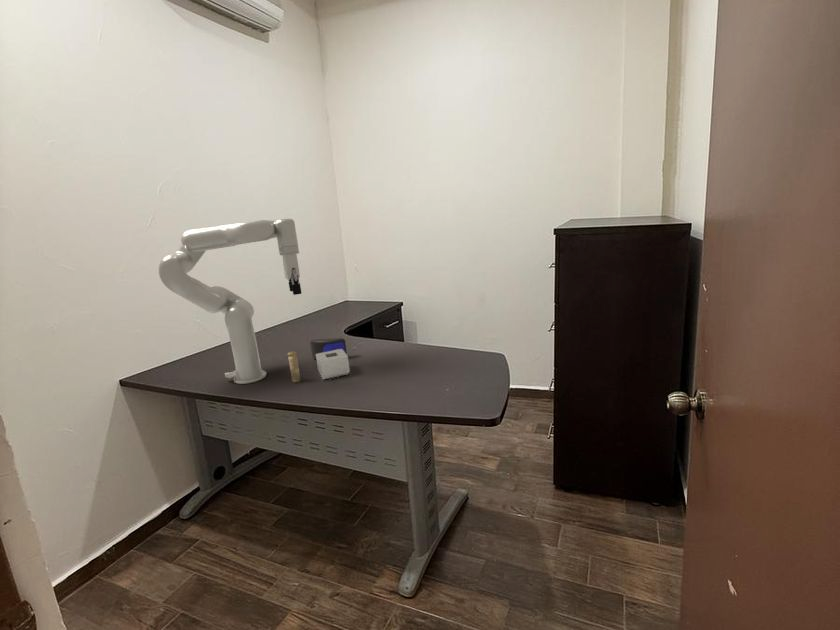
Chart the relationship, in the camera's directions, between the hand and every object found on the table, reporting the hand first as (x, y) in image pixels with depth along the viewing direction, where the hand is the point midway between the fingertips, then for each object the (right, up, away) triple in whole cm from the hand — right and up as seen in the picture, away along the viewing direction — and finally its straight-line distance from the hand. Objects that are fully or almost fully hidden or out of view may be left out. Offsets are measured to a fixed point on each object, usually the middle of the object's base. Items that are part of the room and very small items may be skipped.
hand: (295, 292), depth 170 cm
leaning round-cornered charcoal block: (+10, -29, +19) cm, 36 cm away
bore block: (+16, -33, 0) cm, 37 cm away
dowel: (+2, -36, -5) cm, 36 cm away
